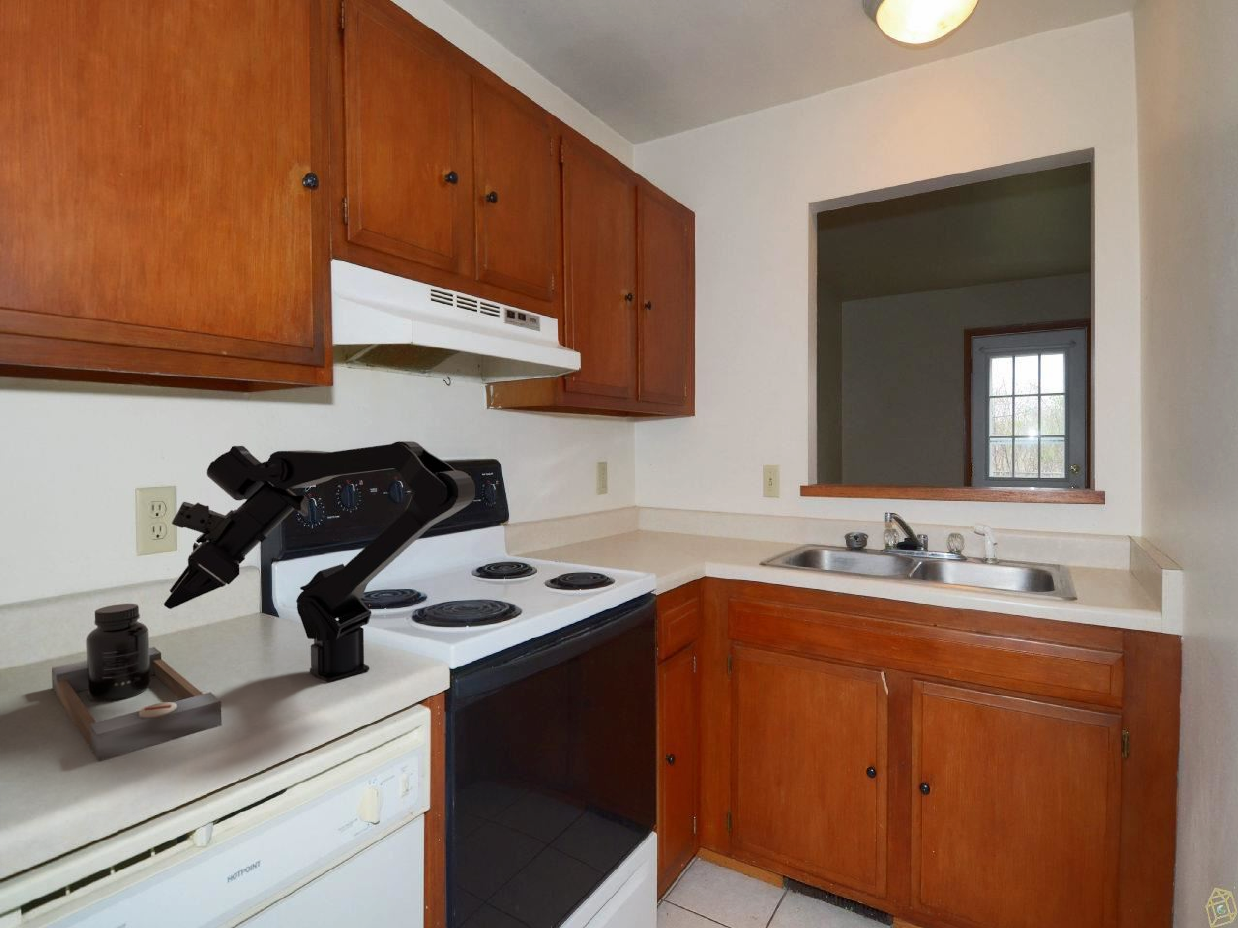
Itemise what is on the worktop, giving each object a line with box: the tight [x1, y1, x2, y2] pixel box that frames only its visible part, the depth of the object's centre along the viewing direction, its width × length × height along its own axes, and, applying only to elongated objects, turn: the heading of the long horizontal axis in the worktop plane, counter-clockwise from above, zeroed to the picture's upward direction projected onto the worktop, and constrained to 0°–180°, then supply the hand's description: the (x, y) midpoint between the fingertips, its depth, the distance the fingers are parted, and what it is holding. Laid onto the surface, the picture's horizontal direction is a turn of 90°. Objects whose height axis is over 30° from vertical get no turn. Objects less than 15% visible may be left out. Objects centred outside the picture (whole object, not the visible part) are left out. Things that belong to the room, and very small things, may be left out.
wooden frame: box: [51, 646, 222, 762], centre depth 85 cm, size 12×31×4 cm, turn 49°
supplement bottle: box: [85, 603, 151, 702], centre depth 89 cm, size 7×7×12 cm
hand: (169, 599), depth 92 cm, fingers open, 9 cm apart
